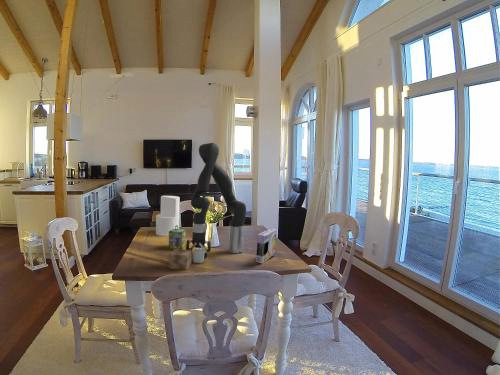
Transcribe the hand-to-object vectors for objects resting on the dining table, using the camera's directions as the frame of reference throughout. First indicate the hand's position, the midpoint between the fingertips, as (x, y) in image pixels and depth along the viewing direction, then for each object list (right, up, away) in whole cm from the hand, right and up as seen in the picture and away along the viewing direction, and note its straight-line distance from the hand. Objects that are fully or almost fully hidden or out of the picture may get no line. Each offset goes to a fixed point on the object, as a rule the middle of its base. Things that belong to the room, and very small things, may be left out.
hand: (198, 257), depth 190 cm
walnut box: (-8, -3, -9) cm, 13 cm away
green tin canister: (-18, +1, +25) cm, 31 cm away
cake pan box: (+40, -3, +9) cm, 41 cm away
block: (0, -2, 0) cm, 2 cm away
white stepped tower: (-33, +6, +60) cm, 69 cm away
